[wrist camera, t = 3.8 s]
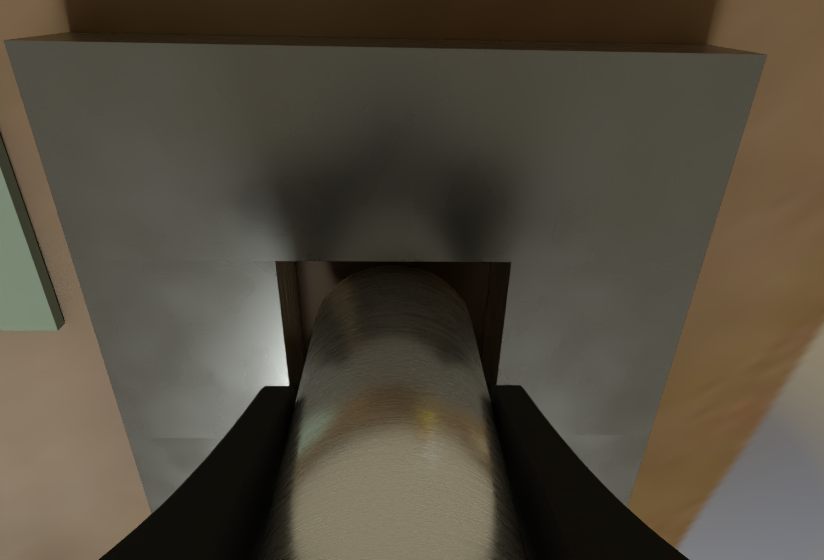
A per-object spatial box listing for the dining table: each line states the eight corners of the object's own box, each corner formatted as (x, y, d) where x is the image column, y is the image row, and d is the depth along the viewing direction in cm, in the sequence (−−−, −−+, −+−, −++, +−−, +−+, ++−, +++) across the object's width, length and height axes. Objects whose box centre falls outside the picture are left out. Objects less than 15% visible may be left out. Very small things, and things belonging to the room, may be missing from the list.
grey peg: (466, 395, 16) (533, 771, 8) (319, 396, 16) (248, 780, 8) (478, 265, 14) (582, 603, 6) (308, 264, 14) (200, 611, 6)
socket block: (593, 482, 21) (617, 539, 19) (186, 486, 21) (161, 545, 18) (707, 44, 14) (767, 54, 11) (68, 32, 13) (3, 40, 11)
